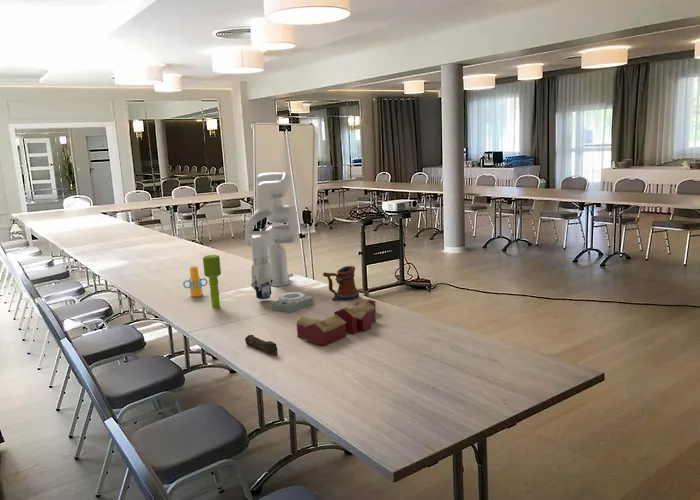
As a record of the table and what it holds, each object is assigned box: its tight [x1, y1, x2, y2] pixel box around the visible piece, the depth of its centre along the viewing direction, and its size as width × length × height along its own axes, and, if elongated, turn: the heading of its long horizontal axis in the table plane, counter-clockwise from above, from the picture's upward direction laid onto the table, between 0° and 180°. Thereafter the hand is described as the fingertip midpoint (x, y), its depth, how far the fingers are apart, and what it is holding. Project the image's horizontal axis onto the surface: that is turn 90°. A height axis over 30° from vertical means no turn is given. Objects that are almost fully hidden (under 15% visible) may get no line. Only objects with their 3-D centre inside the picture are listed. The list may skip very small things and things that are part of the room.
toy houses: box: [294, 297, 377, 348], centre depth 238 cm, size 45×20×10 cm, turn 140°
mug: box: [322, 265, 360, 301], centre depth 278 cm, size 18×12×15 cm, turn 122°
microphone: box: [202, 254, 222, 309], centre depth 275 cm, size 8×8×25 cm
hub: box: [257, 283, 271, 300], centre depth 281 cm, size 6×6×7 cm
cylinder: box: [182, 265, 209, 298], centre depth 298 cm, size 12×10×15 cm
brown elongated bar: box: [244, 334, 278, 356], centre depth 217 cm, size 19×4×5 cm, turn 39°
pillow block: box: [270, 292, 314, 313], centre depth 271 cm, size 16×12×5 cm
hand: (264, 295), depth 282 cm, fingers closed on hub, 6 cm apart
